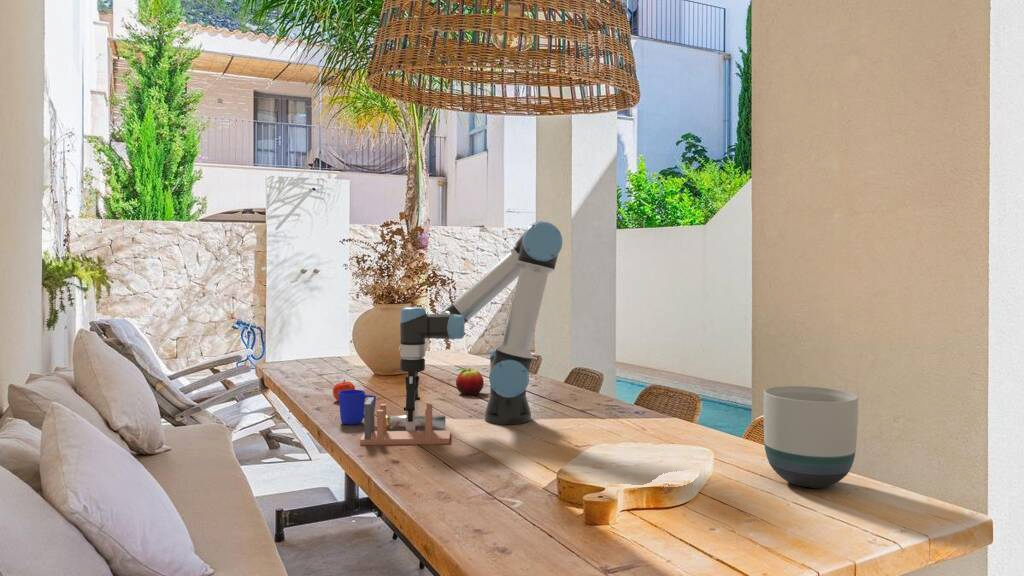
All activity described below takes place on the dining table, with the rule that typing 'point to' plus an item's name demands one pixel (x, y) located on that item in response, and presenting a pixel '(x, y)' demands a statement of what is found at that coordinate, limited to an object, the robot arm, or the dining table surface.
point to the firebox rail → (398, 436)
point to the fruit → (469, 382)
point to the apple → (342, 388)
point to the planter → (810, 433)
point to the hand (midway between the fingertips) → (411, 426)
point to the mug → (352, 406)
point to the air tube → (400, 423)
